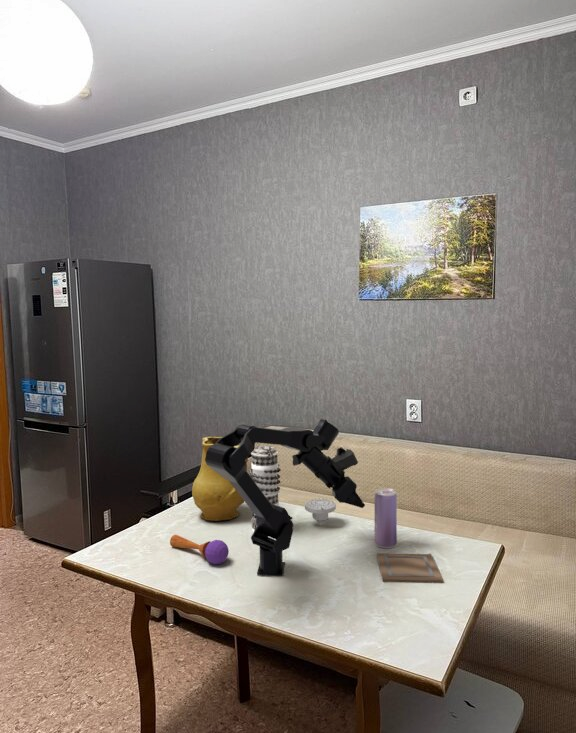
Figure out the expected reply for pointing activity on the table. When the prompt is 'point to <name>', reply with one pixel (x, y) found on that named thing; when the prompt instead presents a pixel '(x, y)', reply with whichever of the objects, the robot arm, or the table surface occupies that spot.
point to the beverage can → (385, 518)
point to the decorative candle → (265, 475)
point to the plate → (408, 568)
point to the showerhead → (320, 509)
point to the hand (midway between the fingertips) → (358, 500)
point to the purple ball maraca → (204, 548)
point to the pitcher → (215, 490)
